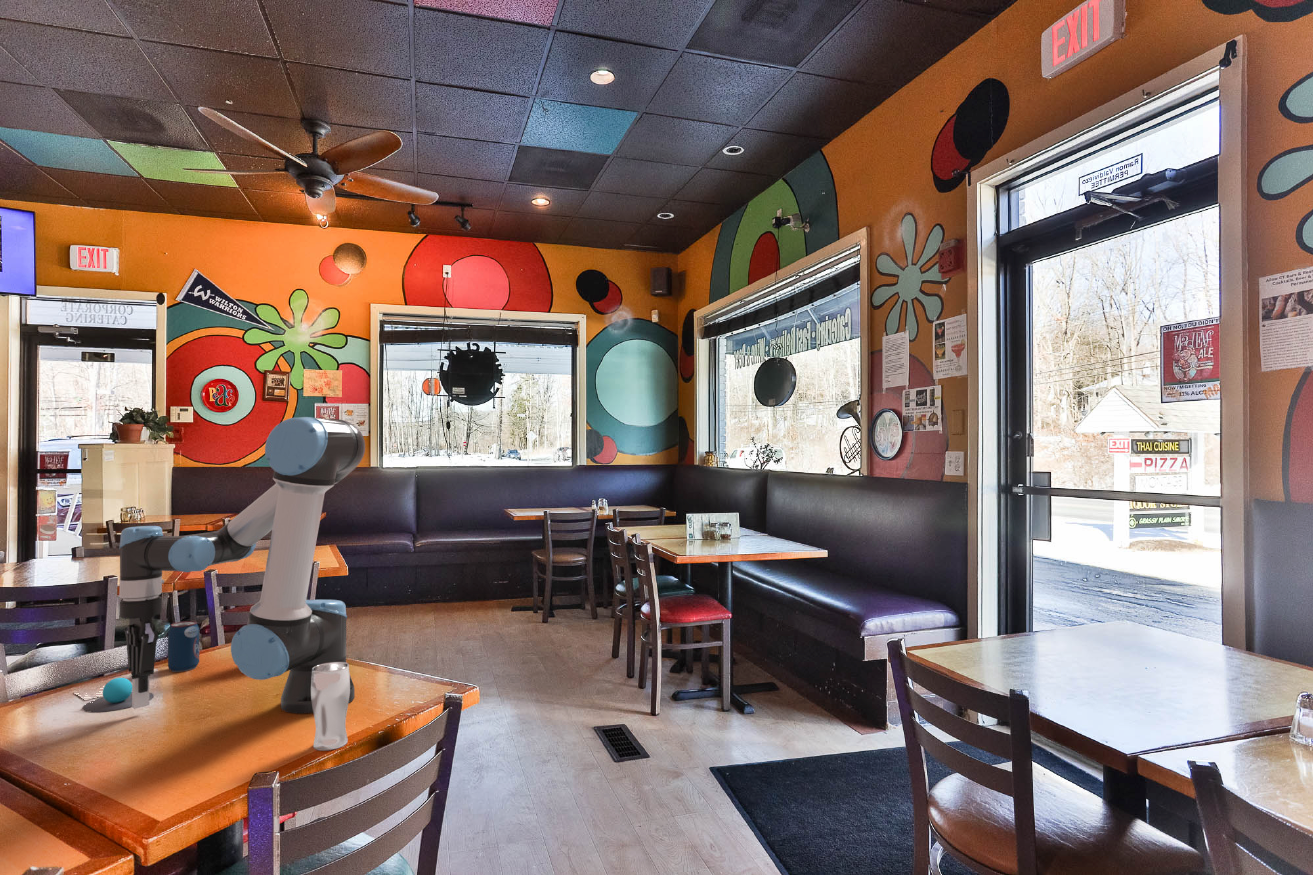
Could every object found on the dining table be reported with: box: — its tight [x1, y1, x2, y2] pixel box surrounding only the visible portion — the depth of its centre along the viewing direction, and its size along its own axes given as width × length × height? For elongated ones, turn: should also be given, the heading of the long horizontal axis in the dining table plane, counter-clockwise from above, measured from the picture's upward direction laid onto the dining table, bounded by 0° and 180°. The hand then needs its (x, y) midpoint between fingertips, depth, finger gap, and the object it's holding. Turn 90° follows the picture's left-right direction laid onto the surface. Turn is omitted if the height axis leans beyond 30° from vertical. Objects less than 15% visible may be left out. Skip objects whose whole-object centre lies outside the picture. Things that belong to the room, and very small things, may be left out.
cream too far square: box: [73, 685, 105, 701], centre depth 171 cm, size 9×9×1 cm
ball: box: [103, 677, 132, 703], centre depth 164 cm, size 6×6×6 cm
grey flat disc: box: [82, 691, 155, 713], centre depth 164 cm, size 13×13×1 cm
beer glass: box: [311, 662, 351, 752], centre depth 139 cm, size 7×7×15 cm
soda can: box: [167, 620, 200, 673], centre depth 190 cm, size 7×7×12 cm
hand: (140, 706), depth 156 cm, fingers closed
